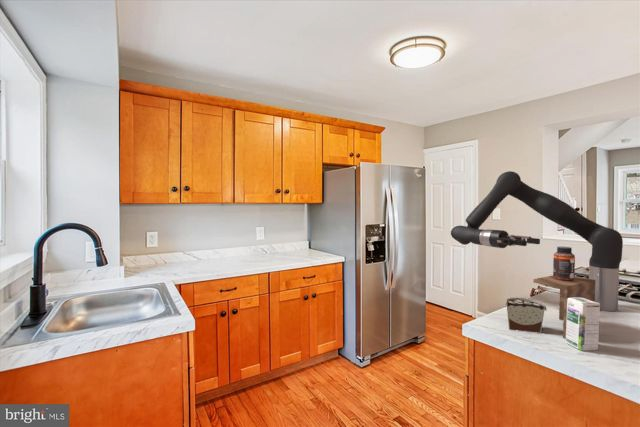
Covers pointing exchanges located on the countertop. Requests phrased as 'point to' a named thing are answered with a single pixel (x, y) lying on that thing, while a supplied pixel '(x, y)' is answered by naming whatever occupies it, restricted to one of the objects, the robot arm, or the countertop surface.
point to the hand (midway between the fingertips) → (532, 242)
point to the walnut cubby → (569, 292)
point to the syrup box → (582, 323)
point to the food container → (525, 314)
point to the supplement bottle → (564, 264)
